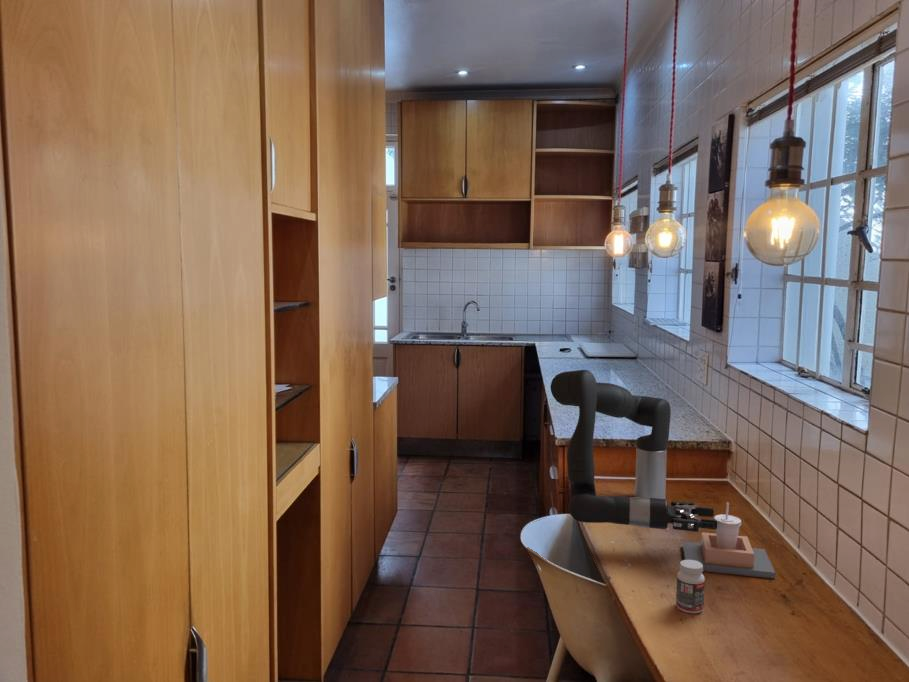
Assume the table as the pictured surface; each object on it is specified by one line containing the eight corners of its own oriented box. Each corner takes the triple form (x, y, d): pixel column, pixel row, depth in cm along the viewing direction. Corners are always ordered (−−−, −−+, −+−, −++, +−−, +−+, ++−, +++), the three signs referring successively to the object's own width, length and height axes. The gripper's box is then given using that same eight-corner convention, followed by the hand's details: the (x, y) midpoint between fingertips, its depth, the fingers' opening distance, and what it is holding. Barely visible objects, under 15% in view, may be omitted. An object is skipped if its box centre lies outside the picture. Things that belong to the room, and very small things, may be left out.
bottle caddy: (682, 546, 179) (683, 528, 179) (764, 554, 174) (765, 536, 174) (686, 569, 166) (686, 549, 166) (774, 578, 161) (775, 558, 160)
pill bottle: (700, 617, 143) (702, 572, 142) (673, 610, 146) (674, 565, 145) (706, 605, 148) (707, 562, 147) (679, 599, 151) (681, 556, 150)
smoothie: (707, 556, 170) (710, 502, 168) (718, 548, 174) (720, 495, 173) (733, 564, 165) (736, 508, 164) (743, 555, 170) (746, 501, 169)
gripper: (648, 507, 167) (719, 513, 163) (647, 489, 180) (712, 494, 176) (648, 537, 168) (718, 543, 163) (647, 516, 181) (711, 522, 177)
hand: (715, 518), depth 170 cm, fingers open, 8 cm apart
